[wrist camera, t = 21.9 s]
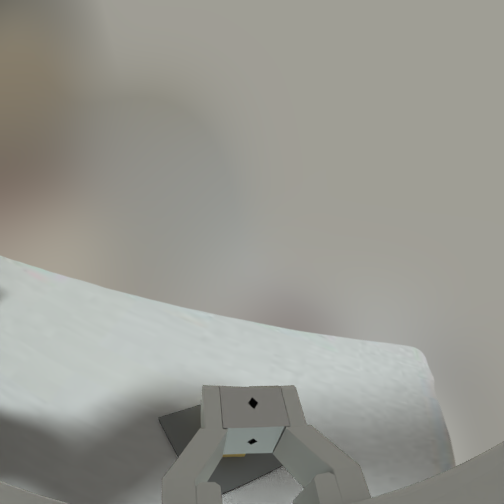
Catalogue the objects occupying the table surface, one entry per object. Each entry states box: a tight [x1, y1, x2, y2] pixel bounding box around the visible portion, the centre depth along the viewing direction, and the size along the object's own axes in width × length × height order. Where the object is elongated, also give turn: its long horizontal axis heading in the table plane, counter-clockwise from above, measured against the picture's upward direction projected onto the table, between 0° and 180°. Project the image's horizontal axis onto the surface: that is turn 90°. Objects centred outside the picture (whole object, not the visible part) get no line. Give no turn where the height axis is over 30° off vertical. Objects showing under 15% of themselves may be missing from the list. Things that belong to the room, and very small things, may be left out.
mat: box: [159, 405, 282, 494], centre depth 38 cm, size 15×14×1 cm
